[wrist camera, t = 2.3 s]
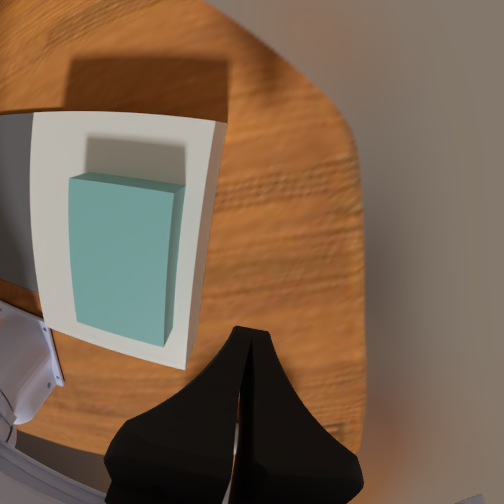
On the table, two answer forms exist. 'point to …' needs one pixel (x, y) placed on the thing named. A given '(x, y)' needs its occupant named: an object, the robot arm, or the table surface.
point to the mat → (16, 201)
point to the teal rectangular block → (125, 253)
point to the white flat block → (128, 165)
